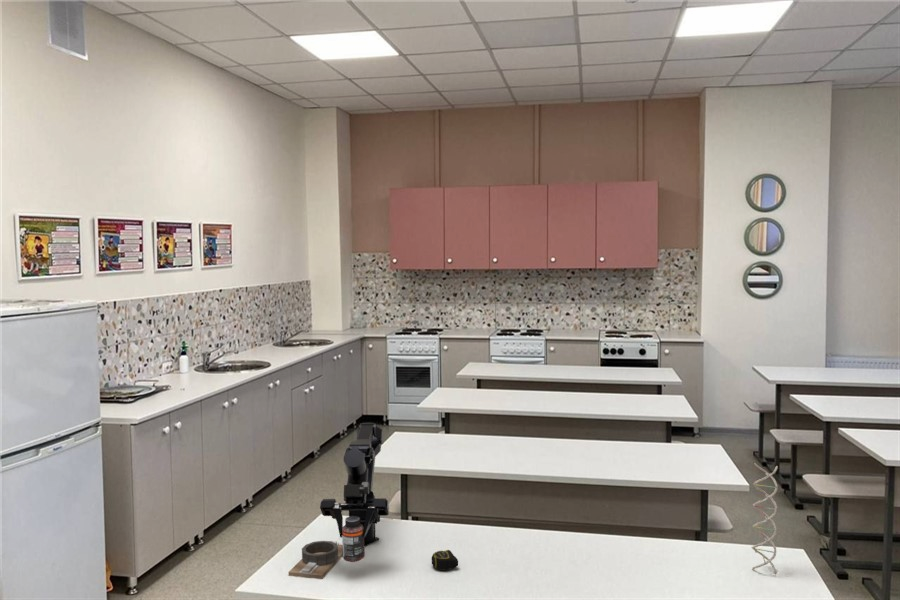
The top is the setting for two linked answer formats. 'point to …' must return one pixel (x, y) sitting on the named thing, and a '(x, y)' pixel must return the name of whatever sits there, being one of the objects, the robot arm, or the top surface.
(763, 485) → the dna model
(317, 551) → the clip holder
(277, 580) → the top surface
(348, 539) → the supplement bottle
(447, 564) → the tape measure
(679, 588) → the top surface
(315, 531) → the top surface
